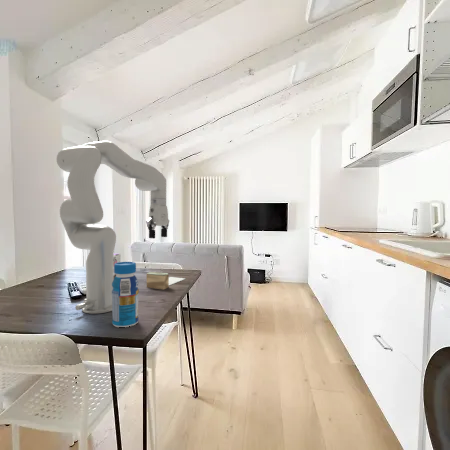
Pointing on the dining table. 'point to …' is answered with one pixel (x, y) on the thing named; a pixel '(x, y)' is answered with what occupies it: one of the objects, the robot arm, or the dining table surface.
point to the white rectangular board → (174, 280)
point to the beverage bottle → (125, 295)
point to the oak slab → (158, 280)
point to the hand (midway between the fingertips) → (158, 237)
